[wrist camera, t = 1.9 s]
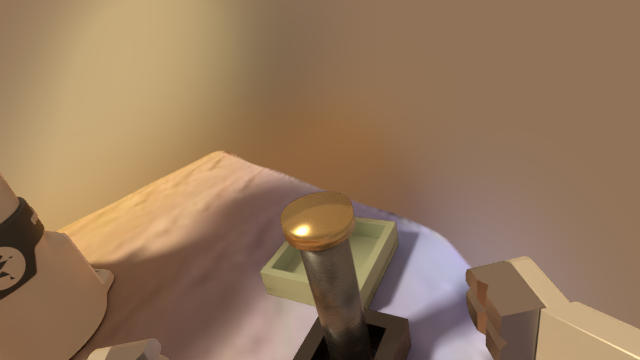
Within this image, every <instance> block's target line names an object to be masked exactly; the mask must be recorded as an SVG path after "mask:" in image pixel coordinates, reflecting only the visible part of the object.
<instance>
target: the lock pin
mask: <svg viewBox="0 0 640 360" xmlns="http://www.w3.org/2000/svg"><path fill="white" fill-rule="evenodd" d="M280 221H281V225H282V228H283V231H284V235H285V238H286V240H287V242H288V243H289V244H290V245H291V246H292V247H294V248H296V249H299V250H300V254H301V257H302V261H303V264H304V268H305V271H306V274H307V278H308V281H309V285H310V288H311V292H312V295H313V298H314V302H315V305H316V309H317V312H318V316H319V319H320V322H321V326H322V329H323V333H324V336H325V340H326V343H327V346H328V350H329V353H330V357H331V360H374V357H373V352H372V347H371V342H370V338H369V333H368V328H367V323H366V319H365V314H364V309H363V304H362V299H361V295H360V290H359V285H358V280H357V275H356V271H355V266H354V261H353V256H352V251H351V247H350V242H349V236H350V235H351V233H352V232H353V230H354V228H355V217H354V212H353V207H352V203H351V201H350V199H349V198H348V197H346V196H345V195H343V194H340V193H336V192H317V193H312V194H308V195H305V196H303V197H300V198H298V199H296V200H295V201H293V202H292V203H290V204H289V205H288V206H287V207H286V208H285V209H284V210H283V212H282V214H281V217H280Z"/></svg>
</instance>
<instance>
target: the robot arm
mask: <svg viewBox="0 0 640 360" xmlns="http://www.w3.org/2000/svg"><path fill="white" fill-rule="evenodd" d="M113 280H114V275H113V274H112V273H111V272H110V270H107V269H93V268H92V267H91V265H90V264H89V263H88V261H87V260H86V259H85V257H84V256H83V255H82V253H81V252H80V251H79V249H78V248H77V247H76V245H75V244H74V243H73V241H72V240H71V239H70V238H69V236H67V235H66V234H65V233H58V232H49V231H45V230H44V226H43V224H42V223H41V221H40V220H39V219H38V216H37V214H36V212H35V211H34V209H33V208H32V207H30V206H29V205H28V203H27V202H26V201H25V200H24V199H23V198H21V197H16V195H15V194H14V192H13V191H12V189H11V188H10V186H9V185H8V183H7V182H6V180H5V179H4V178H3V176H2V175H1V173H0V360H69V359H70V358H71V357H72V356H73V355H74V354H75V353H76V352H77V351H78V350H79V349H80V348H81V347H82V346H83V345H84V344H85V343H86V342H87V341H88V340H89V338H90V337H91V336H92V335H93V333H94V332H95V331H96V329H97V328H98V326H99V325H100V323H101V321H102V319H103V317H104V314H105V312H106V308H107V292H108V290H109V288H110V286H111V284H112V282H113ZM466 282H467V284H468V285H469V287H470V289H469V290H468V292H467V293H466V299H467V306H468V310H469V314H470V316H471V319H472V321H473V323H474V325H475V327H476V329H477V330H478V331H479V332H481V333H483V334H484V335H486V347H487V348H488V350H489V352H490V354H491V355H492V357H493V359H494V360H640V329H638V328H635V327H633V326H631V325H629V324H626V323H624V322H622V321H620V320H617V319H615V318H613V317H611V316H608V315H606V314H604V313H601V312H599V311H597V310H595V309H593V308H590V307H588V306H586V305H584V304H581V303H579V302H572V303H570V301H569V300H568V299H567V298H566V297H565V296H564V295H563V294H562V293H561V291H560V290H559V289H558V288H557V287H556V286H555V285H554V284H553V283H552V282H551V281H550V279H549V278H548V277H547V276H546V275H545V274H544V273H543V272H542V270H541V269H540V268H539V267H538V266H537V265H536V264H535V263H534V262H533V261H532V259H531V258H529V257H527V256H523V257H519V258H515V259H510V260H506V261H501V262H497V263H492V264H488V265H484V266H479V267H475V268H470V269H467V271H466ZM161 348H162V346H161V345H160V343H159V342H158V340H157V339H156V338H150V339H145V340H140V341H134V342H129V343H124V344H119V345H114V346H110V347H105V348H100V349H96V350H94V351H93V352H92V353H91V354H90V355H89V357H88V359H87V360H170V359H169V358H168V357H166V356H164V355H162V354H160V351H161Z"/></svg>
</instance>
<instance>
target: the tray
mask: <svg viewBox="0 0 640 360" xmlns="http://www.w3.org/2000/svg"><path fill="white" fill-rule="evenodd" d="M349 242H350V247H351V251H352V256H353V261H354V266H355V271H356V275H357V280H358V285H359V290H360V295H361V299H362V304H363V308H365V309H368V308H369V305H370V303H371V301H372V299H373V297H374V295H375V293H376V291H377V289H378V286H379V284H380V282H381V280H382V278H383V276H384V274H385V272H386V270H387V267H388V265H389V263H390V261H391V259H392V257H393V255H394V253H395V251H396V249H397V246H398V244H399V242H398V235H397V227H396V222H394V221H386V220H378V219H370V218H362V217H355V228H354V230H353V232H352V233H351V235H350V236H349ZM260 274H261V277H262V280H263V282H264V285H265V288H266V290H267V293H268V294H271V295H274V296H278V297H282V298H286V299H290V300H293V301H297V302H301V303H305V304H309V305H312V306H316V305H315V302H314V298H313V295H312V292H311V288H310V285H309V281H308V278H307V274H306V271H305V268H304V264H303V261H302V257H301V254H300V250H299V249H296V248H294V247H292V246H291V245H290V244H289V243H288V242H287V240H286V241H285V242H284V243H283V244H282V246H281V247H280V248H279V249H278V250H277V252H276V253H275V254H274V255H273V257H272V258H271V259H270V260H269V261H268V263H267V264H266V265H265V266H264V267H263V269H262V270H261V271H260Z"/></svg>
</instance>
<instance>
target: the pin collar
mask: <svg viewBox="0 0 640 360" xmlns="http://www.w3.org/2000/svg"><path fill="white" fill-rule="evenodd" d="M363 309H364V314H365V319H366V323H367V328H368V333H369V338H370V342H371V347H372V348H374V349H378V350H377V353H376V355H375V358H374V360H406V359H407V356H408V353H409V350H410V347H411V339H410V331H409V324H408V319H405V318H401V317H397V316H393V315H389V314H385V313H381V312H377V311H373V310H369V309H365V308H363ZM293 360H331V357H330V353H329V350H328V346H327V343H326V340H325V336H324V333H323V329H322V326H321V322H320V319H319V316H318V318H317V319H316V321H315V323H314V324H313V326H312V328H311V330H310V331H309V333H308V335H307V336H306V338H305V340H304V341H303V343H302V345H301V347H300V348H299V350H298V352H297V353H296V355H295V357H294V358H293Z"/></svg>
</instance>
